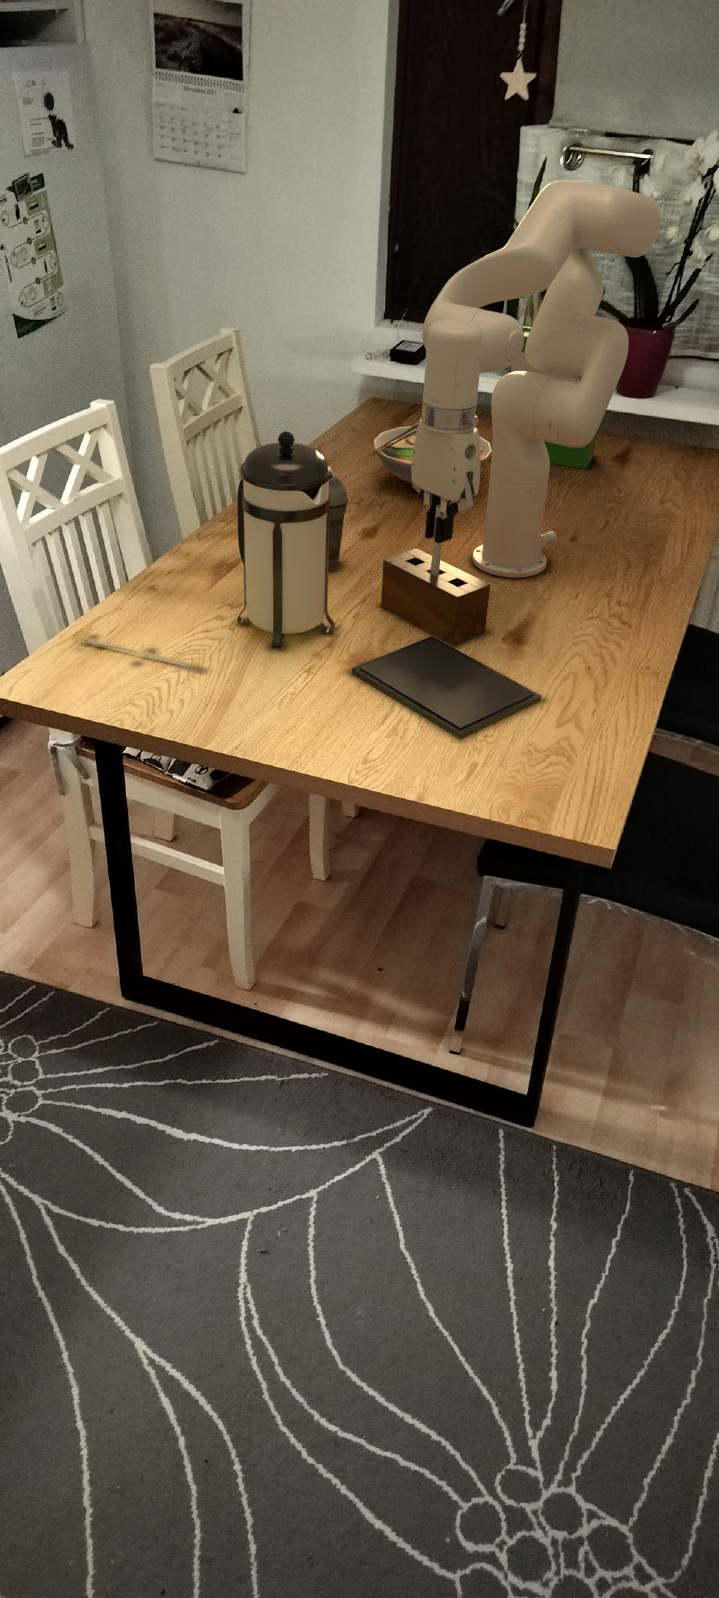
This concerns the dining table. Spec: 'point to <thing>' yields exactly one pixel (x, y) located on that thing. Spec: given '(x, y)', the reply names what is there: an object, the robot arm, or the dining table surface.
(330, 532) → the beverage cup
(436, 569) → the rod
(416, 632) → the dining table surface
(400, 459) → the ramen bowl
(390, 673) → the tablet
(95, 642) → the stylus
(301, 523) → the coffee press
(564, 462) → the hardback book
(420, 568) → the pen block
